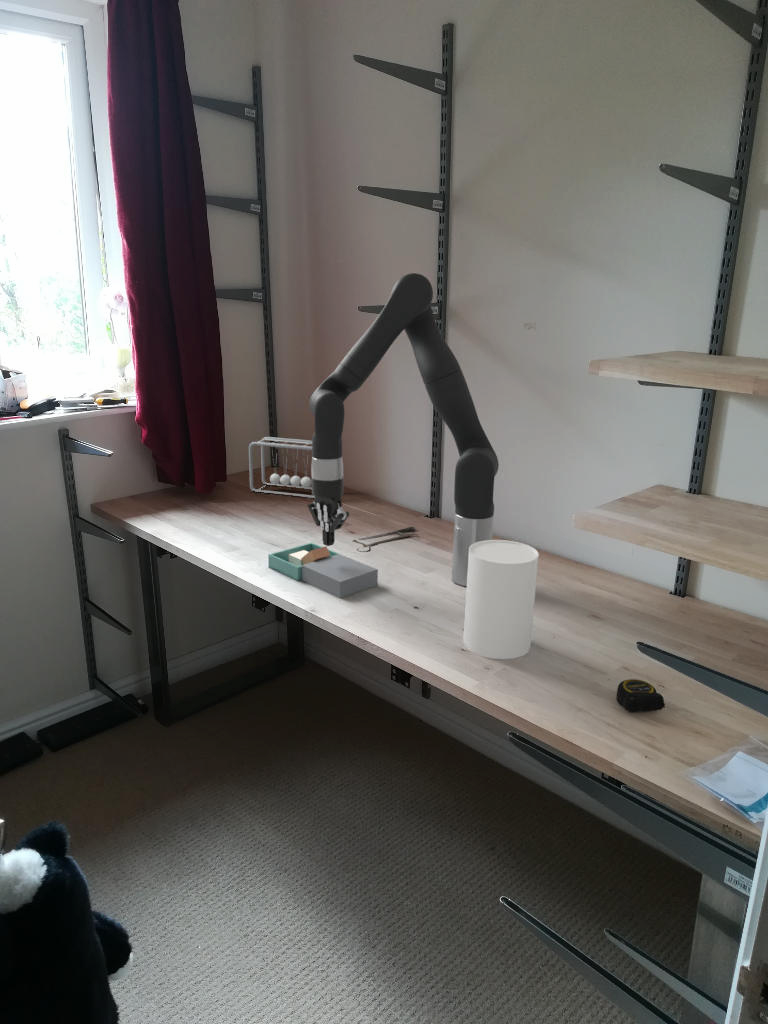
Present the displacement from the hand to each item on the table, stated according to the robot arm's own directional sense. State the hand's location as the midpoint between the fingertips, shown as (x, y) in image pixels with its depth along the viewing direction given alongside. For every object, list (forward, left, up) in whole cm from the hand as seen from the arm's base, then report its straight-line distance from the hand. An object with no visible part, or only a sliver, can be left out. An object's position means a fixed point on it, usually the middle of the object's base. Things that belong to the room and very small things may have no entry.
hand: (328, 544), depth 180 cm
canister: (-47, +15, -9) cm, 50 cm away
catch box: (+9, -4, -9) cm, 13 cm away
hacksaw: (-2, -33, -9) cm, 34 cm away
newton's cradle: (+46, -64, -9) cm, 79 cm away
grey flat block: (-4, +1, -9) cm, 10 cm away
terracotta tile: (+4, -2, -6) cm, 7 cm away
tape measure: (-76, +28, -9) cm, 81 cm away
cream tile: (+10, -4, -6) cm, 12 cm away
